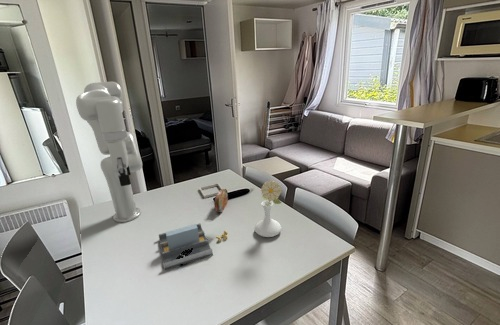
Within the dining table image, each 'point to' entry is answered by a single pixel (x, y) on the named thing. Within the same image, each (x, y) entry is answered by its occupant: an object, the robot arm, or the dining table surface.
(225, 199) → the tin
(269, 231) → the flower in vase
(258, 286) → the dining table surface
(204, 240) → the rack
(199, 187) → the beige square frame
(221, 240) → the dice set
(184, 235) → the blue-grey rectangular block
